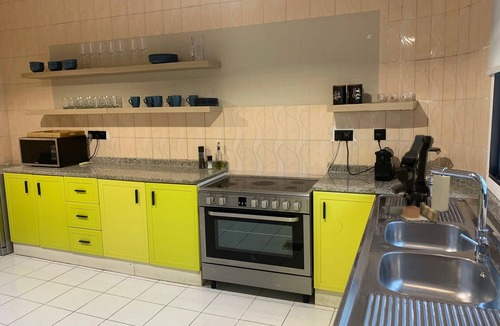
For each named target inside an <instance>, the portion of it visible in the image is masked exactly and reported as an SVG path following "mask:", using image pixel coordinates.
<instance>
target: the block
mask: <svg viewBox="0 0 500 326" xmlns="http://www.w3.org/2000/svg"><path fill="white" fill-rule="evenodd" d="M402 207H403V215H404V216H406V217H408V218H418V217H420V207H416V206H414V205H411V206H405V205H403V206H402Z"/></svg>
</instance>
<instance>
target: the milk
mask: <svg viewBox="0 0 500 326" xmlns="http://www.w3.org/2000/svg"><path fill="white" fill-rule="evenodd" d="M450 183H451V176H450V175H449V176H441V175H435V174H433V175H432V189H431V206H430V208H431V209H433V210H435V211H436V212H441V213H442V212H448V211H449V200H450V199H449V198H450Z"/></svg>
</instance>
